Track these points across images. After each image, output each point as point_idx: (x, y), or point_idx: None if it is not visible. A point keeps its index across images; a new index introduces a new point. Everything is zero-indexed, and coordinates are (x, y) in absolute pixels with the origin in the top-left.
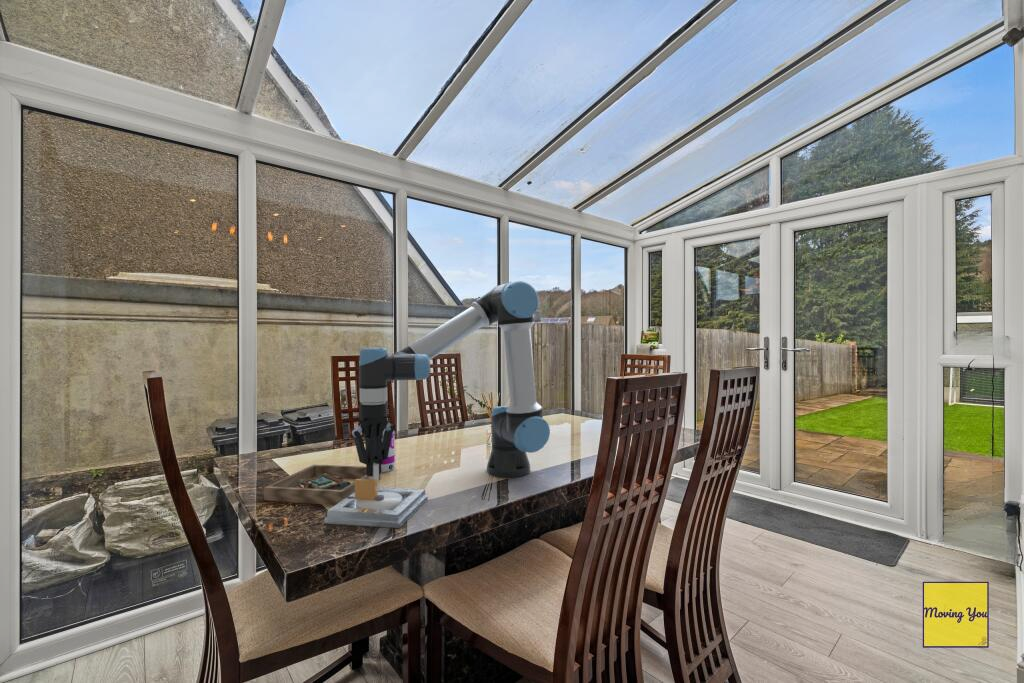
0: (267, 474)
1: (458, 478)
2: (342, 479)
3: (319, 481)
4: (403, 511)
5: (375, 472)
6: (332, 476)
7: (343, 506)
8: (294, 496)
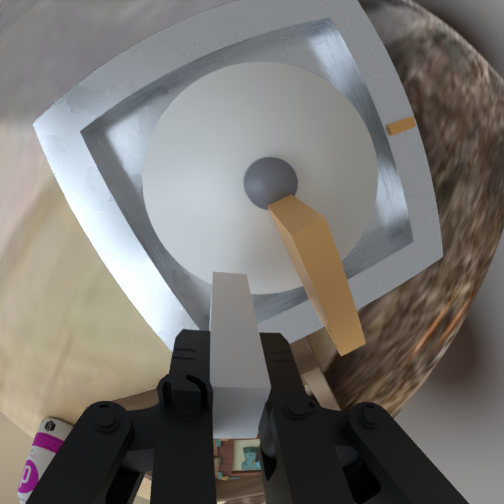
0: (253, 501)
1: None
2: None
3: None
4: None
5: (244, 335)
6: (217, 467)
7: (402, 247)
8: None
